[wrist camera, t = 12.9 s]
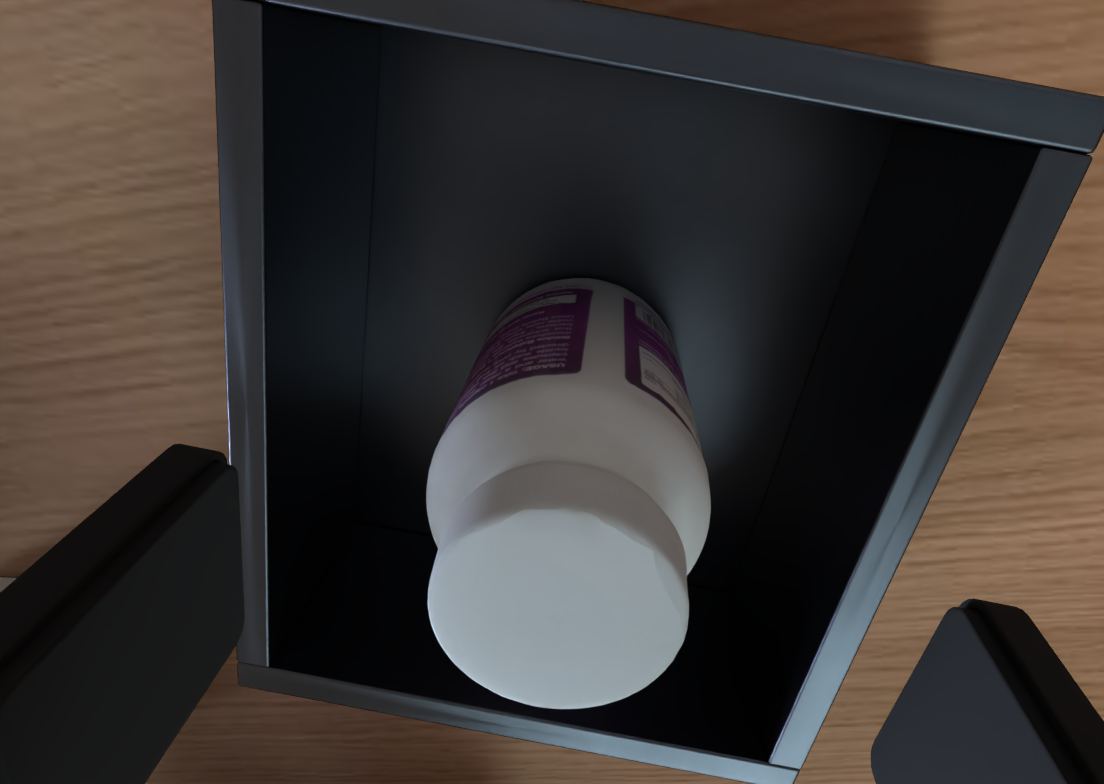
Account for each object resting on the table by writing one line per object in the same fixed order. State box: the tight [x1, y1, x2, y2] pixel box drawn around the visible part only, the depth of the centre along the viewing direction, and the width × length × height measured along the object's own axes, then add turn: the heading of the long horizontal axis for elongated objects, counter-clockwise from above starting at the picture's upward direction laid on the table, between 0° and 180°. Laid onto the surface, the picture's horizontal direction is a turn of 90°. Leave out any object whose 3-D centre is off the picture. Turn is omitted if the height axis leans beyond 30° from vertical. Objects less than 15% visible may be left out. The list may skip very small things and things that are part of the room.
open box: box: [212, 0, 1104, 784], centre depth 17 cm, size 16×14×7 cm
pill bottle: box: [426, 278, 711, 709], centre depth 15 cm, size 5×5×10 cm
